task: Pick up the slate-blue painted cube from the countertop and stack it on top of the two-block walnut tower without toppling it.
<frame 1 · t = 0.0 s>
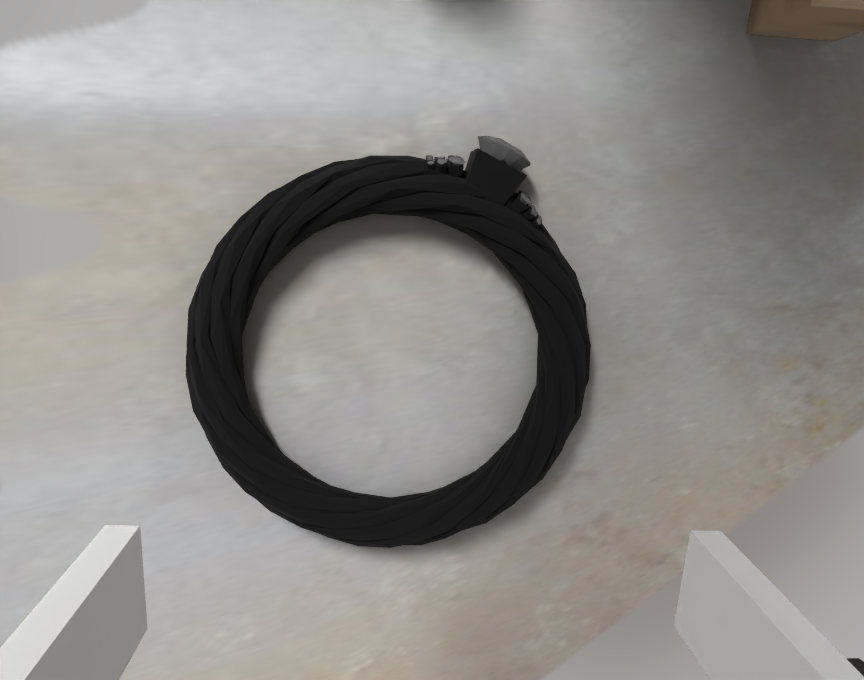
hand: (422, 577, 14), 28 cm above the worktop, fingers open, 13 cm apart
ring: (400, 342, 42), on the worktop
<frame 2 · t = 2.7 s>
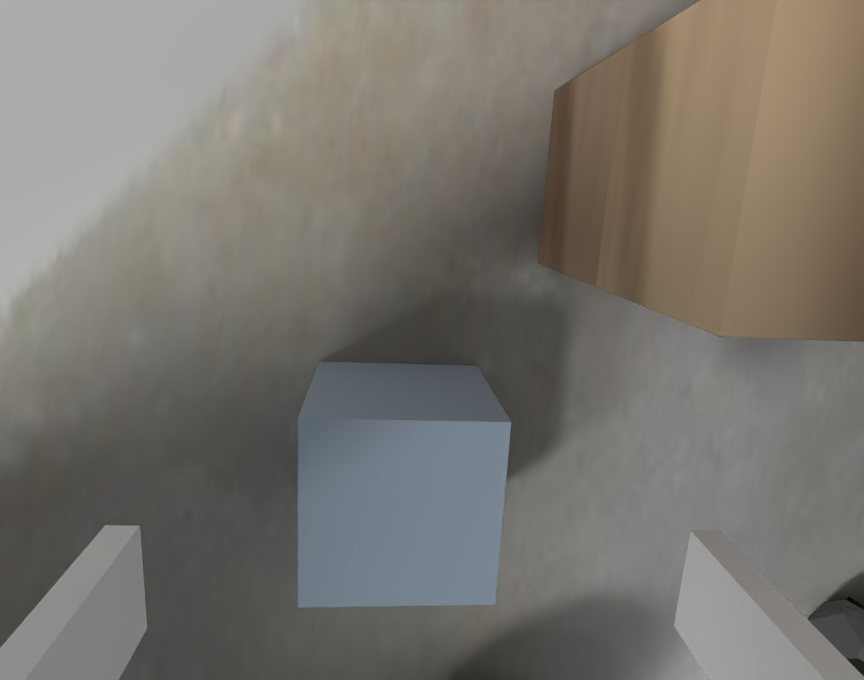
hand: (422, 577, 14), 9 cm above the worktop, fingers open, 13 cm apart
tower upper block: (718, 179, 16), point 6 cm above the worktop, touching tower lower block
tower lower block: (626, 184, 21), on the worktop, touching tower upper block
slate block: (396, 436, 23), on the worktop
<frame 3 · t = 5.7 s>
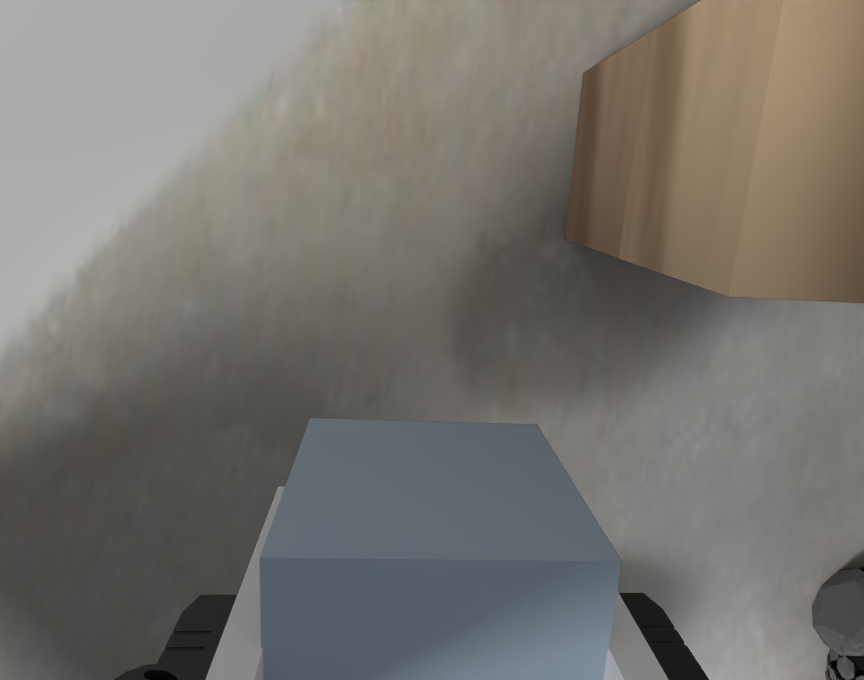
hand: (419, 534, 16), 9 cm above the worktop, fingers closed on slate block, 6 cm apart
tower upper block: (737, 157, 17), point 6 cm above the worktop, touching tower lower block
tower lower block: (651, 163, 22), on the worktop, touching tower upper block
slate block: (419, 522, 16), point 8 cm above the worktop, touching gripper
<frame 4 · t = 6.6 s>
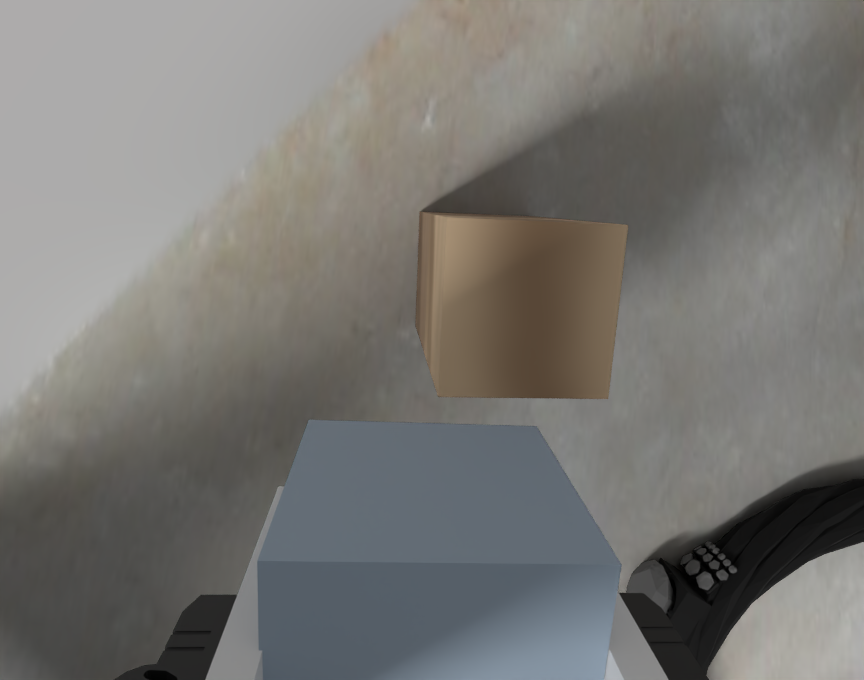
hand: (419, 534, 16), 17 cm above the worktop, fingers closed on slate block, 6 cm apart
tower upper block: (495, 287, 25), point 6 cm above the worktop, touching tower lower block
tower lower block: (473, 271, 31), on the worktop, touching tower upper block
ring: (809, 645, 40), on the worktop
slate block: (418, 524, 16), point 16 cm above the worktop, touching gripper
when the fingers open (12 cm above the worktop, at t = 7.8 s): slate block stays where it is, resting on tower upper block.
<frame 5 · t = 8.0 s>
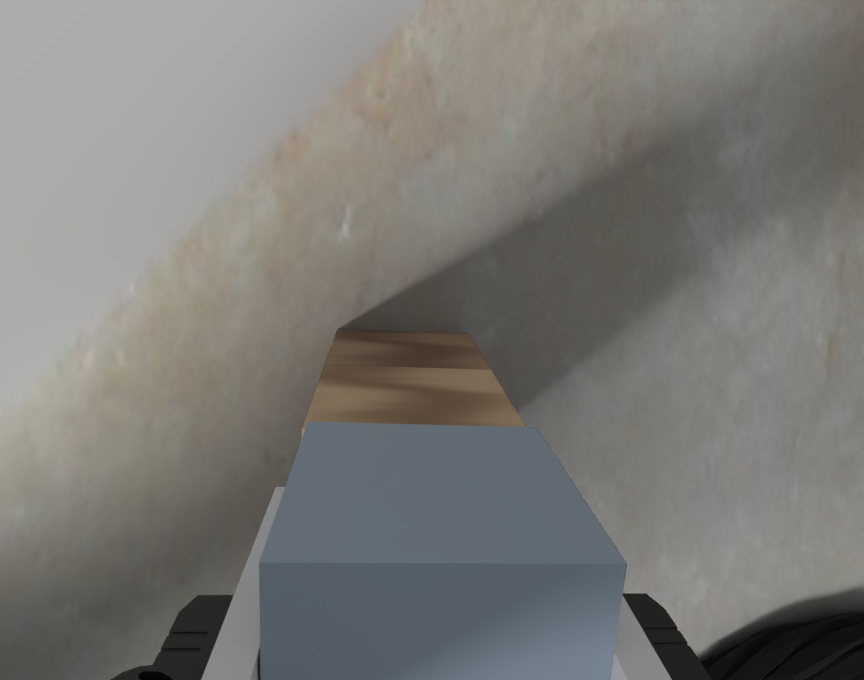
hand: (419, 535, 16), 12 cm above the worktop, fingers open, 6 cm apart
tower upper block: (405, 444, 22), point 6 cm above the worktop, touching gripper, slate block, tower lower block
tower lower block: (401, 392, 28), on the worktop, touching tower upper block
slate block: (418, 527, 16), point 12 cm above the worktop, touching tower upper block
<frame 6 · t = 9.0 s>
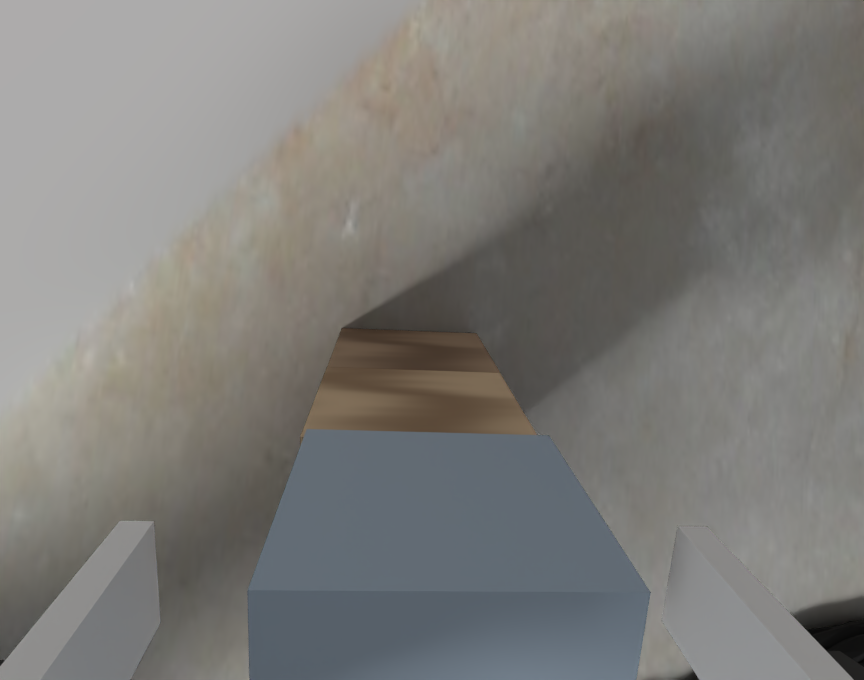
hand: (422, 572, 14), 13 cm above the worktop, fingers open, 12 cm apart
tower upper block: (410, 450, 21), point 6 cm above the worktop, touching slate block, tower lower block
tower lower block: (406, 394, 27), on the worktop, touching tower upper block
slate block: (423, 540, 15), point 12 cm above the worktop, touching tower upper block
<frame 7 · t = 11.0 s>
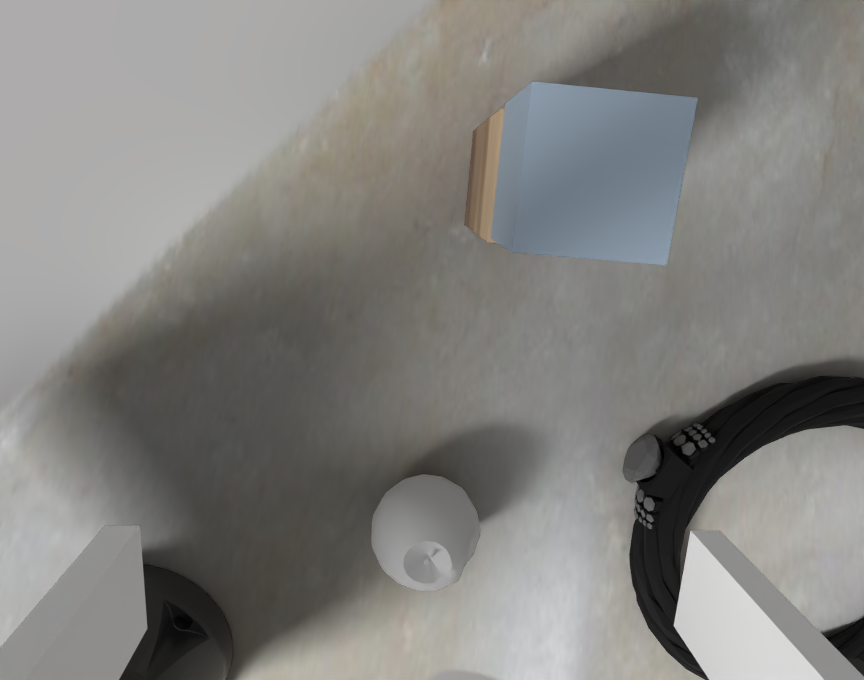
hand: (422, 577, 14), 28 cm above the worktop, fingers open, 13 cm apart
tower upper block: (531, 182, 33), point 6 cm above the worktop, touching slate block, tower lower block
tower lower block: (513, 182, 39), on the worktop, touching tower upper block
ring: (778, 524, 47), on the worktop
slate block: (561, 178, 27), point 12 cm above the worktop, touching tower upper block
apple: (425, 501, 45), on the worktop
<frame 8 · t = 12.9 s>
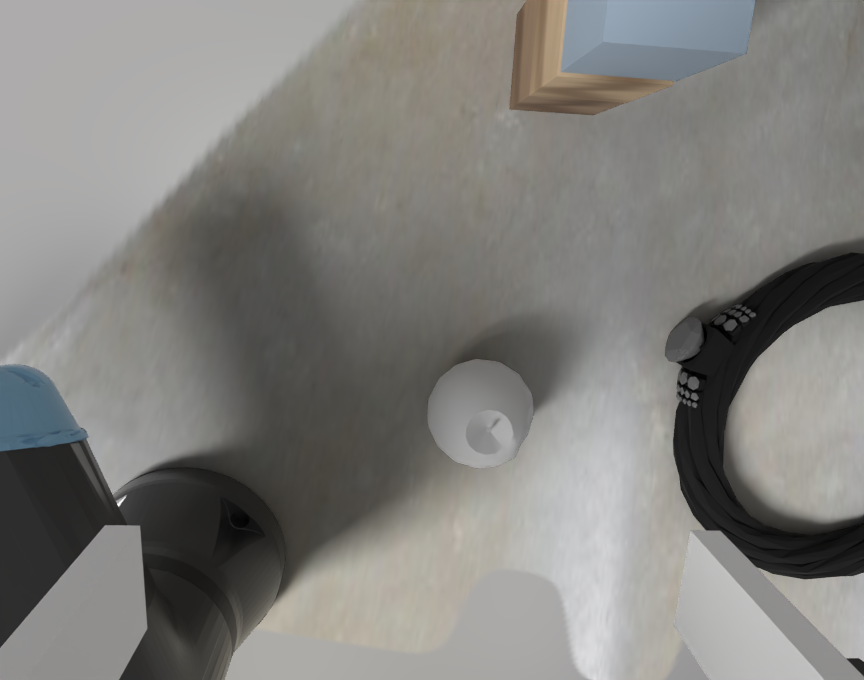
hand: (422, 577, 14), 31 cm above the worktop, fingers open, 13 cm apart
tower upper block: (584, 44, 35), point 6 cm above the worktop, touching slate block, tower lower block
tower lower block: (556, 65, 40), on the worktop, touching tower upper block
ring: (813, 409, 49), on the worktop
slate block: (627, 10, 29), point 12 cm above the worktop, touching tower upper block
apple: (473, 394, 46), on the worktop
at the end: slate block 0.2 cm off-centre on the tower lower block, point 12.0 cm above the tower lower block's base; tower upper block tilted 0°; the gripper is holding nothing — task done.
